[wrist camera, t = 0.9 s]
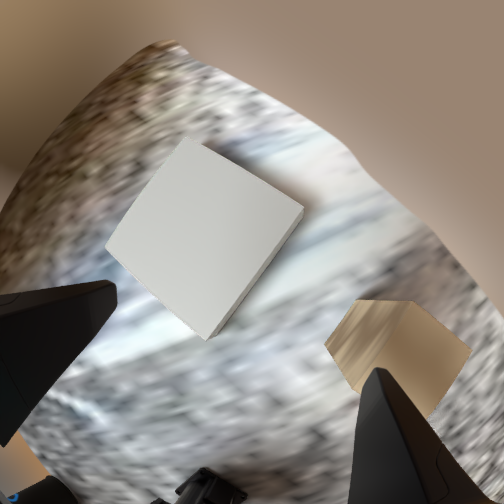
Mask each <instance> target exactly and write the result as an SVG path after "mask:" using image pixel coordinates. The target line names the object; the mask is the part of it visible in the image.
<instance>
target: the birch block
mask: <svg viewBox="0 0 504 504" xmlns="http://www.w3.org/2000/svg"><path fill="white" fill-rule="evenodd" d="M324 345H325V346H326V348H327V350H328V351H329V353H330V354H331V356H332V358H333V359H334V361H335V362H336V364H337V366H338V367H339V369H340V370H341V372H342V374H343V375H344V377H345V378H346V380H347V382H348V383H349V385H350V386H351V388H352V389H353V390H354V391H356V392H357V393H359V394H361V391H362V387H363V385H364V383H365V381H366V380H367V378H368V376H369V375H370V373H371V372H372V370H373V369H374V368H375V367H380V368H385V369H387V370H388V371H389V372H390V373H391V375H392V376H393V377H394V378H395V380H396V381H397V382H398V384H399V385H400V386H401V387H402V389H403V390H404V391H405V393H406V394H407V395H408V397H409V398H410V399H411V401H412V402H413V403H414V405H415V406H416V407H417V408H418V410H419V411H420V412H421V414H422V415H423V416H424V418H425V419H427V418H428V417H429V415H430V414H431V413H432V412H433V410H434V409H435V408H436V406H437V405H438V403H439V402H440V401H441V399H442V398H443V397H444V395H445V394H446V392H447V391H448V389H449V388H450V386H451V385H452V383H453V382H454V380H455V379H456V377H457V376H458V374H459V372H460V371H461V369H462V367H463V366H464V364H465V362H466V361H467V359H468V357H469V355H470V354H471V352H472V350H471V349H470V348H469V347H468V346H467V345H466V344H464V343H463V342H462V341H461V340H460V339H459V338H458V337H456V336H455V335H454V334H453V333H452V332H451V331H449V330H448V329H447V328H446V327H445V326H443V325H442V324H441V323H440V322H439V321H437V320H436V319H435V318H434V317H433V316H431V315H430V314H429V313H428V312H426V311H425V310H424V309H423V308H421V307H420V306H419V305H418V304H417V303H415V302H414V301H384V300H355V302H354V303H353V305H352V306H351V308H350V309H349V311H348V312H347V313H346V315H345V316H344V318H343V319H342V321H341V322H340V323H339V325H338V326H337V327H336V329H335V330H334V332H333V333H332V334H331V336H330V337H329V338H328V340H327V341H326V342H325V344H324Z"/></svg>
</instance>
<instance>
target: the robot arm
mask: <svg viewBox="0 0 504 504" xmlns="http://www.w3.org/2000/svg"><path fill="white" fill-rule="evenodd" d="M117 303H118V302H117V288H116V285H115V283H113V282H111V281H109V280H100V281H93V282H87V283H80V284H73V285H67V286H60V287H53V288H46V289H40V290H33V291H26V292H19V293H12V294H4V295H0V445H1V446H2V447H5V446H6V445H7V443H8V442H9V441H10V439H11V437H12V436H13V435H14V434H15V432H16V431H17V430H18V428H19V427H20V426H21V425H22V423H23V422H24V421H25V419H26V418H27V417H28V415H29V414H30V413H31V411H32V410H33V409H34V408H35V406H36V405H37V404H38V403H39V401H40V400H41V399H42V398H43V396H44V395H45V394H46V393H47V392H48V390H49V389H50V388H51V387H52V385H53V384H54V383H55V382H56V381H57V380H58V378H59V377H60V376H61V375H62V374H63V372H64V371H65V370H66V369H67V368H68V367H69V365H70V364H71V363H72V362H73V361H74V360H75V359H76V357H77V356H78V355H79V354H80V353H81V352H82V351H83V350H84V348H85V347H86V346H87V345H88V344H89V343H90V342H91V341H92V339H93V338H94V337H95V336H96V335H97V333H98V332H99V331H100V329H101V328H102V326H103V325H104V324H105V322H106V321H107V320H108V318H109V317H110V316H111V314H112V313H113V312H114V311H115V309H116V307H117ZM202 472H204V473H202ZM179 491H180V492H179ZM175 492H176V494H178V495H179V496H180V497H179V498H178V500H177V501H176V503H175V504H240V503H242V502H243V501H245V500H246V499H247V494H245V493H244V492H242V491H240V490H238V489H236V488H235V487H233V486H231V485H230V484H228V483H226V482H225V481H223V480H221V479H220V478H218V477H217V476H215V475H214V474H212V473H210V472H209V471H207V470H206V469H204V468H201V469H199V470H198V471H197V472H196V473H195V474H193V475H192V476H191V477H190V478H189V479H188V480H186V481H185V482H184V483H183V484H182V485H180V486H179V487H178V488H177V489H176V490H175ZM242 496H244V497H242ZM0 504H12V503H11V502H10V501H9V500H8V499H7V498H6V497H5V495H4V494H3V493H2V492H1V491H0ZM150 504H170V503H168V502H166V501H164V500H163V499H161V498H158V499H157V500H155V501H153V502H152V503H150ZM348 504H500V503H497V502H494V501H492V500H490V499H489V498H488V497H487V496H486V495H485V494H484V493H483V492H482V491H481V490H480V489H479V487H478V486H477V485H476V484H475V483H474V482H473V480H472V479H471V478H470V477H469V476H468V475H467V473H466V472H465V471H464V470H463V469H462V467H461V466H460V465H459V464H458V463H457V461H456V460H455V459H454V457H453V456H452V455H451V453H450V452H449V451H448V449H447V448H446V446H445V445H444V444H443V443H442V441H441V440H440V438H439V437H438V435H437V434H436V433H435V431H434V430H433V429H432V427H431V426H430V425H429V423H428V422H427V421H426V419H425V418H424V416H423V415H422V414H421V412H420V411H419V410H418V408H417V407H416V406H415V405H414V403H413V402H412V401H411V399H410V398H409V397H408V395H407V394H406V393H405V391H404V390H403V389H402V387H401V386H400V385H399V384H398V382H397V381H396V380H395V378H394V377H393V376H392V375H391V373H390V372H389V371H388V370H387V369H385V368H380V367H375V368H374V369H373V370H372V372H371V373H370V375H369V376H368V378H367V380H366V381H365V383H364V385H363V387H362V391H361V398H360V404H359V411H358V417H357V423H356V429H355V440H354V453H353V464H352V474H351V482H350V490H349V497H348Z"/></svg>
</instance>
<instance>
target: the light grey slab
mask: <svg viewBox="0 0 504 504" xmlns="http://www.w3.org/2000/svg"><path fill="white" fill-rule="evenodd" d="M303 214H304V206H302V205H301V204H299V203H298V202H296V201H295V200H293V199H291V198H290V197H288V196H287V195H285V194H284V193H282V192H281V191H279V190H277V189H276V188H274V187H273V186H271V185H269V184H268V183H266V182H265V181H263V180H261V179H260V178H258V177H256V176H255V175H253V174H252V173H250V172H248V171H247V170H245V169H243V168H241V167H240V166H238V165H236V164H235V163H233V162H231V161H230V160H228V159H226V158H224V157H223V156H221V155H219V154H217V153H216V152H214V151H212V150H210V149H209V148H207V147H205V146H203V145H201V144H200V143H198V142H196V141H194V140H192V139H191V138H189V137H187V136H185V138H184V139H183V140H182V141H181V142H180V144H179V145H178V146H177V147H176V148H175V149H174V151H173V152H172V153H171V154H170V156H169V157H168V158H167V159H166V161H165V162H164V163H163V164H162V166H161V167H160V168H159V169H158V171H157V172H156V173H155V175H154V176H153V177H152V178H151V180H150V181H149V182H148V184H147V185H146V186H145V188H144V189H143V191H142V192H141V193H140V195H139V196H138V197H137V199H136V200H135V202H134V203H133V204H132V206H131V207H130V209H129V210H128V212H127V213H126V215H125V216H124V218H123V219H122V221H121V222H120V224H119V225H118V227H117V228H116V230H115V231H114V233H113V234H112V236H111V237H110V239H109V241H108V242H107V244H106V245H105V248H106V249H107V250H108V251H109V252H110V253H111V254H112V255H113V256H114V258H115V259H116V260H117V261H118V262H119V263H120V264H121V265H122V266H123V267H124V268H125V269H126V270H127V271H128V272H129V273H130V274H131V275H132V276H133V277H134V278H136V279H137V280H138V281H139V282H140V283H141V284H142V285H143V286H144V287H145V288H146V289H147V290H148V291H149V292H150V293H151V294H152V295H153V296H155V297H156V298H157V299H158V300H159V301H160V302H161V303H162V304H163V305H164V306H165V307H167V308H168V309H169V310H170V311H171V312H172V313H173V314H174V315H176V316H177V317H178V318H179V319H180V320H181V321H183V322H184V323H185V324H186V325H187V326H188V327H190V328H191V329H192V330H193V331H194V332H195V333H197V334H198V335H199V336H200V337H202V338H203V339H204V340H205V341H207V340H209V339H211V338H213V337H215V336H216V335H217V334H218V333H219V331H220V330H221V329H222V327H223V326H224V325H225V323H226V322H227V321H228V319H229V318H230V317H231V315H232V314H233V313H234V311H235V310H236V309H237V307H238V306H239V304H240V303H241V302H242V300H243V299H244V298H245V296H246V295H247V294H248V292H249V291H250V290H251V288H252V287H253V286H254V284H255V283H256V282H257V280H258V279H259V277H260V276H261V275H262V273H263V272H264V271H265V269H266V268H267V266H268V265H269V264H270V262H271V261H272V260H273V258H274V257H275V255H276V254H277V253H278V251H279V250H280V249H281V247H282V246H283V244H284V243H285V242H286V240H287V239H288V237H289V236H290V235H291V233H292V232H293V231H294V229H295V228H296V226H297V225H298V224H299V222H300V221H301V219H302V218H303Z"/></svg>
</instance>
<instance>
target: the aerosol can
mask: <svg viewBox="0 0 504 504" xmlns="http://www.w3.org/2000/svg"><path fill="white" fill-rule="evenodd" d="M7 499H8V500H9V501H10V502H11V503H12V504H78V503H77V501H76V499H75V497H74V496H73V494H72V493H71V492H70V491H69V490H68V488H67V487H66V486H65V485H64V484H63V483H61V482H60V481H59V480H58V479H56V478H55V477H53V476H46V478H45V479H43V480H42V481H40V482H38V483H36V484H34V485H32V486H30V487H28V488H26V489H24V490H22V491H20V492H18V493H16V494H14V495H12V496H10V497H8V498H7Z"/></svg>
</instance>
